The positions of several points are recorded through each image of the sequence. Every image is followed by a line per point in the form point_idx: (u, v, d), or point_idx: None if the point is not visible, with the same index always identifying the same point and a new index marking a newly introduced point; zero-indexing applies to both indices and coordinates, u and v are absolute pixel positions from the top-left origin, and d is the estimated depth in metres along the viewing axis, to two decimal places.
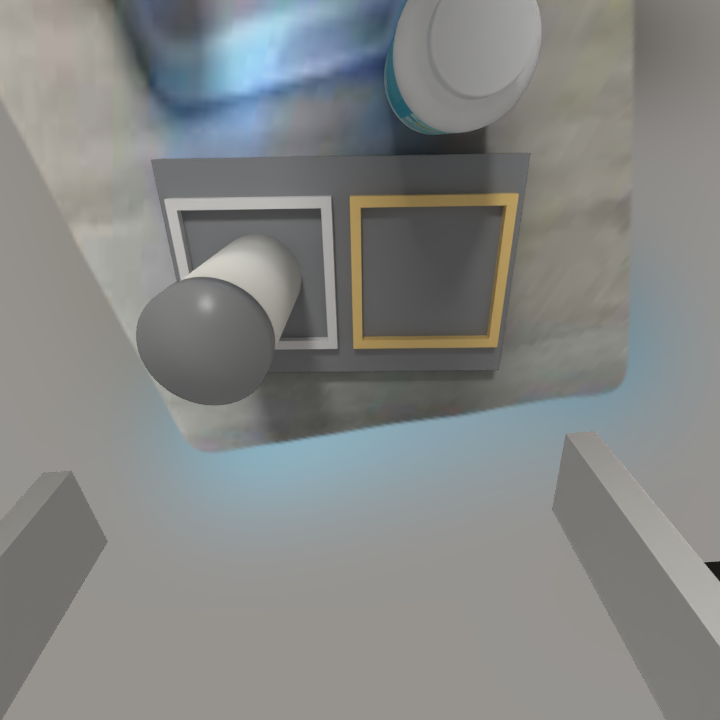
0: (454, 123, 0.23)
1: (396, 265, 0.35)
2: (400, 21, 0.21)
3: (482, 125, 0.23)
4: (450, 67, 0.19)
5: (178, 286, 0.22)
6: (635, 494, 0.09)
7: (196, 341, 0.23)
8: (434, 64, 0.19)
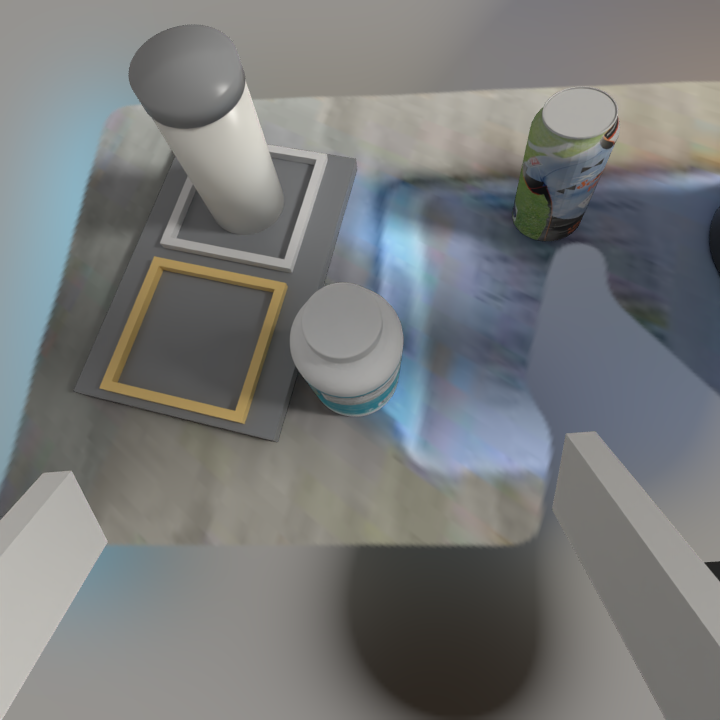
0: (297, 317, 0.28)
1: (217, 312, 0.38)
2: None
3: (290, 341, 0.28)
4: (327, 293, 0.25)
5: (237, 65, 0.28)
6: (635, 494, 0.09)
7: (191, 62, 0.28)
8: (333, 284, 0.25)
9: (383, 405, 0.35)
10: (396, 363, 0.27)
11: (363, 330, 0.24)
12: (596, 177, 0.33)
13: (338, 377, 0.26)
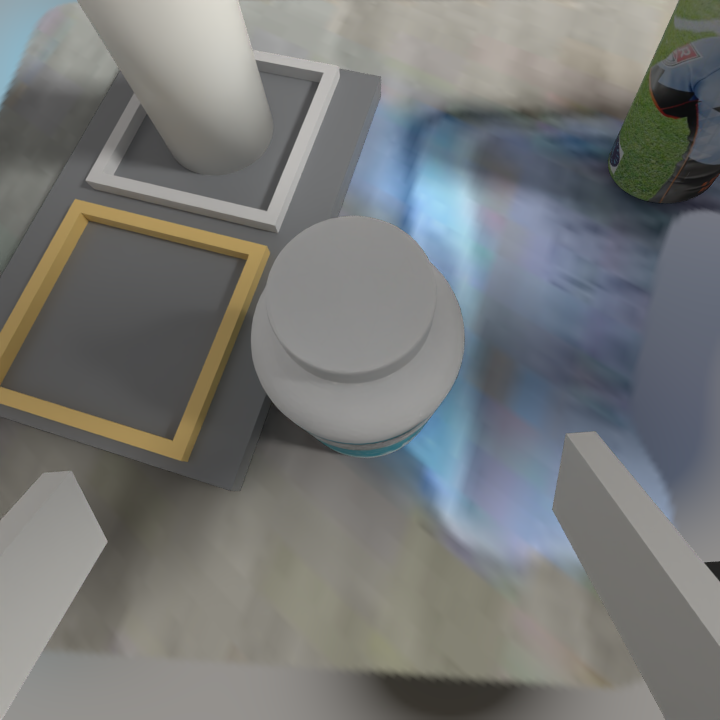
0: None
1: (162, 285, 0.25)
2: None
3: (251, 333, 0.15)
4: (324, 236, 0.12)
5: None
6: (635, 494, 0.09)
7: None
8: None
9: (408, 442, 0.22)
10: (451, 385, 0.14)
11: (397, 316, 0.11)
12: None
13: (338, 409, 0.13)
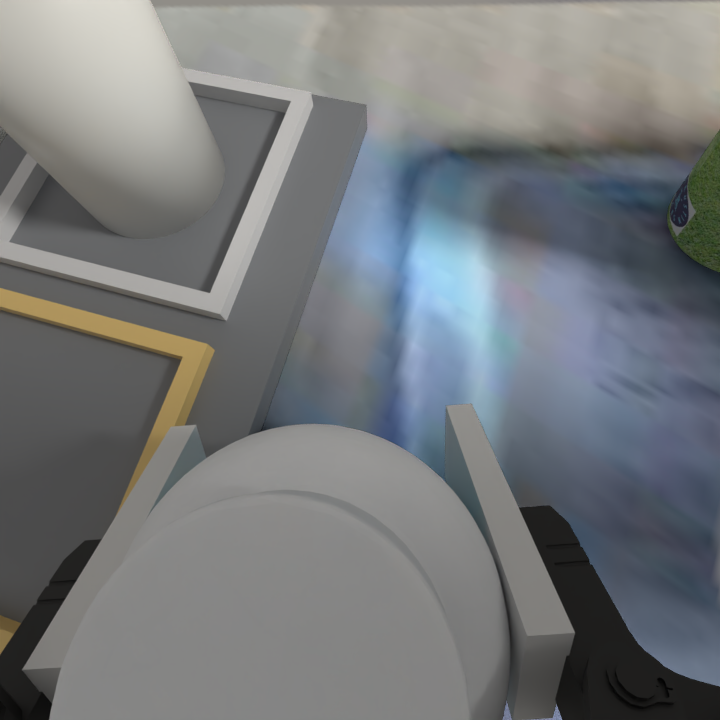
0: (134, 546, 0.08)
1: (65, 397, 0.18)
2: (412, 457, 0.08)
3: None
4: (202, 552, 0.05)
5: None
6: (483, 452, 0.11)
7: None
8: (239, 496, 0.05)
9: None
10: None
11: None
12: None
13: None
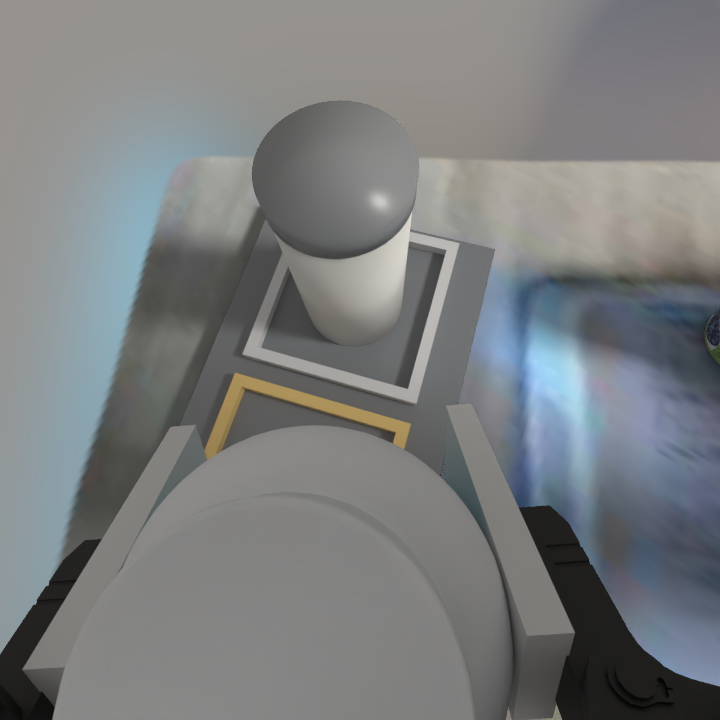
0: (136, 548, 0.08)
1: None
2: (414, 458, 0.08)
3: None
4: (205, 554, 0.05)
5: (418, 171, 0.18)
6: (483, 452, 0.11)
7: (347, 162, 0.19)
8: (242, 499, 0.05)
9: None
10: None
11: None
12: None
13: None
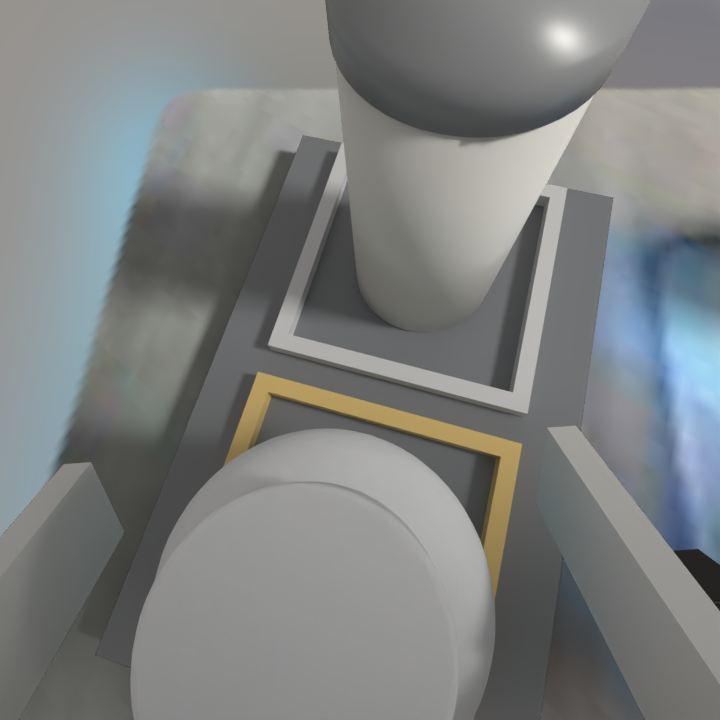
0: (176, 532, 0.09)
1: None
2: (412, 457, 0.10)
3: None
4: (248, 527, 0.07)
5: None
6: (610, 485, 0.09)
7: None
8: (275, 484, 0.07)
9: None
10: None
11: None
12: None
13: None
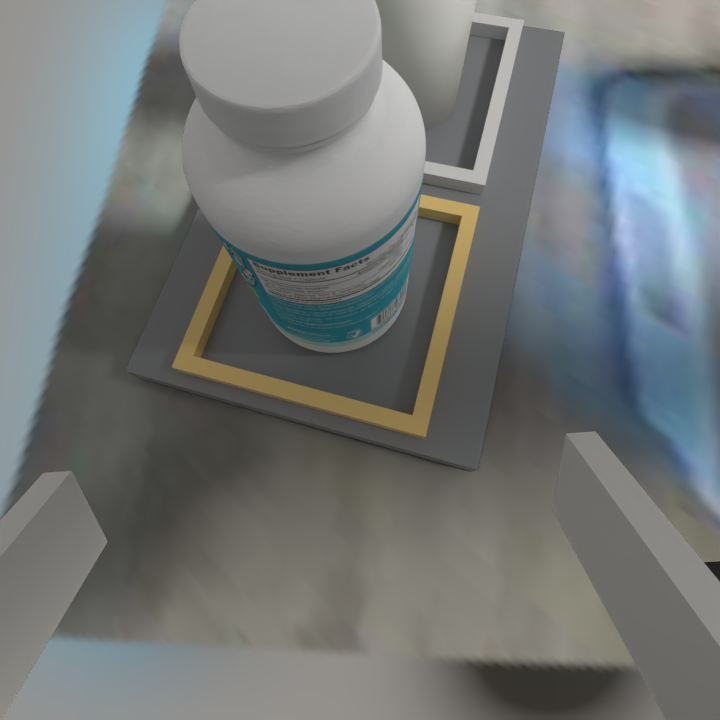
0: None
1: None
2: None
3: (182, 142, 0.13)
4: None
5: None
6: (635, 494, 0.09)
7: None
8: None
9: (380, 333, 0.21)
10: (410, 189, 0.12)
11: (333, 51, 0.09)
12: None
13: (276, 200, 0.11)
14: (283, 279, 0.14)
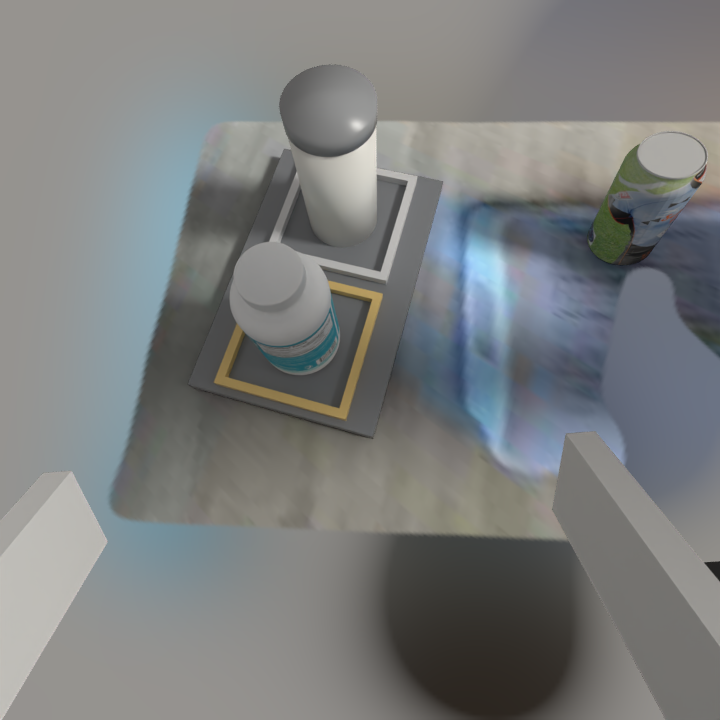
0: None
1: None
2: (307, 256, 0.32)
3: None
4: (258, 250, 0.29)
5: (376, 103, 0.31)
6: (635, 494, 0.09)
7: (335, 99, 0.32)
8: None
9: (324, 365, 0.39)
10: (321, 317, 0.31)
11: (286, 282, 0.28)
12: (679, 211, 0.36)
13: (267, 325, 0.30)
14: (271, 349, 0.32)
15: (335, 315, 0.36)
